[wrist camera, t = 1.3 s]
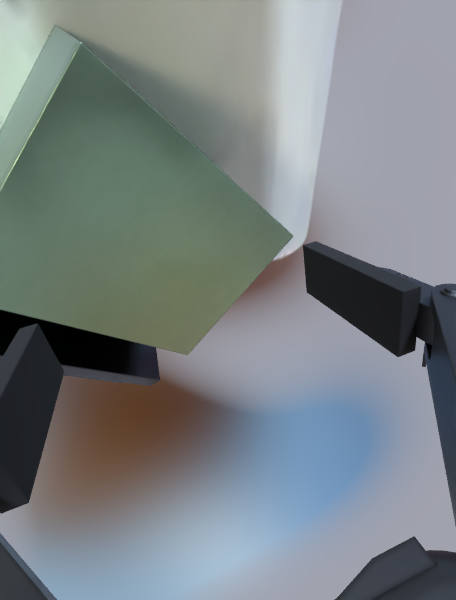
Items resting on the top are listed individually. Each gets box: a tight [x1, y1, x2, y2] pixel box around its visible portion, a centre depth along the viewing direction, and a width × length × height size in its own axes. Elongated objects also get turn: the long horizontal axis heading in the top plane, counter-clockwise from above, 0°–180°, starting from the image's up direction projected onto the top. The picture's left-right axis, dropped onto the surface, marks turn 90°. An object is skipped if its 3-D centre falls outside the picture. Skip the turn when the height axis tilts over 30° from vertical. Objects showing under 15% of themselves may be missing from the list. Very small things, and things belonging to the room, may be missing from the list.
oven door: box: [0, 310, 160, 386], centre depth 32 cm, size 4×20×16 cm, turn 45°
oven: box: [0, 25, 293, 355], centre depth 29 cm, size 16×20×16 cm
